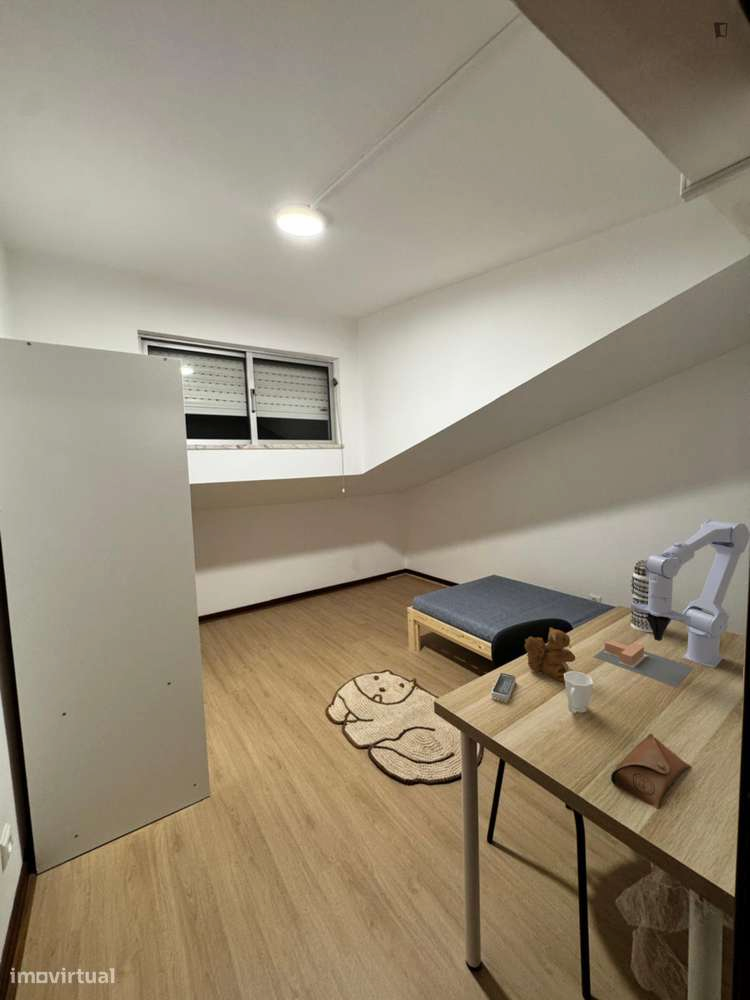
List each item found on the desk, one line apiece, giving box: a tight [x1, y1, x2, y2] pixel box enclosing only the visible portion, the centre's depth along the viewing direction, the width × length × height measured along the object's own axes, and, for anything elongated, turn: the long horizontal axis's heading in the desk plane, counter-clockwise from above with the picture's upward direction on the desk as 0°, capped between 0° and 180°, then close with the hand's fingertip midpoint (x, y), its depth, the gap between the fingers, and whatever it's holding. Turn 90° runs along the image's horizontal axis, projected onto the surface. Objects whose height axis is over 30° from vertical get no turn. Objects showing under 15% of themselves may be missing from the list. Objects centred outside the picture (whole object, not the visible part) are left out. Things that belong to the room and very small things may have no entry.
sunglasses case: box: [610, 733, 691, 810], centre depth 80 cm, size 18×7×7 cm, turn 126°
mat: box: [593, 643, 695, 688], centre depth 122 cm, size 16×22×1 cm
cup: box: [564, 670, 594, 714], centre depth 100 cm, size 7×10×8 cm
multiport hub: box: [491, 672, 517, 703], centre depth 110 cm, size 4×11×2 cm, turn 149°
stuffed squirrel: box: [524, 627, 576, 683], centre depth 118 cm, size 10×14×13 cm
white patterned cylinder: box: [630, 560, 653, 633], centre depth 145 cm, size 9×9×25 cm
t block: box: [604, 639, 645, 666], centre depth 126 cm, size 10×9×3 cm
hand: (658, 639), depth 117 cm, fingers closed
